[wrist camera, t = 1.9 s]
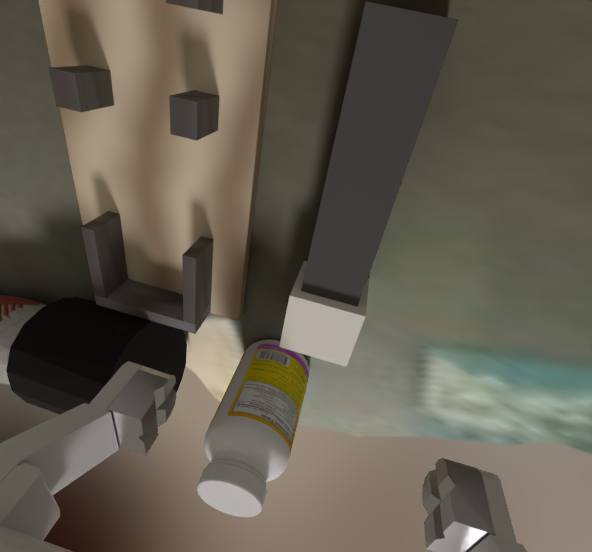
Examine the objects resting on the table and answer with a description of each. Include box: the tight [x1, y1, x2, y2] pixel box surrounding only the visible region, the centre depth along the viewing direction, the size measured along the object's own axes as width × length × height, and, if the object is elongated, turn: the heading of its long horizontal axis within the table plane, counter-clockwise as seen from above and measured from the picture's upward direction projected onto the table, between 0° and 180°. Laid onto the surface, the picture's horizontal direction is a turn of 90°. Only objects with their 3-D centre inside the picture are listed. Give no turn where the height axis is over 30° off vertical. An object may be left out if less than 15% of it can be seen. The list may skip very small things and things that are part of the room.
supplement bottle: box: [197, 339, 309, 517], centre depth 29 cm, size 7×7×13 cm
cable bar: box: [279, 2, 458, 367], centre depth 22 cm, size 5×21×5 cm, turn 170°
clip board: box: [39, 0, 278, 334], centre depth 24 cm, size 14×25×4 cm, turn 170°
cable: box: [0, 295, 187, 414], centre depth 35 cm, size 10×34×10 cm, turn 88°
